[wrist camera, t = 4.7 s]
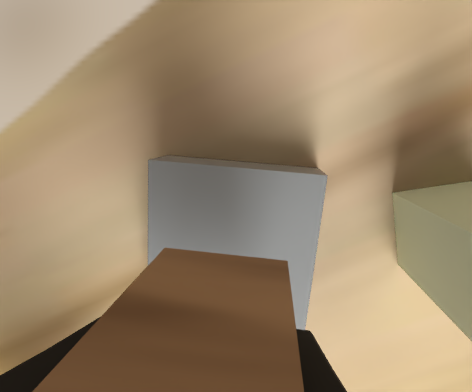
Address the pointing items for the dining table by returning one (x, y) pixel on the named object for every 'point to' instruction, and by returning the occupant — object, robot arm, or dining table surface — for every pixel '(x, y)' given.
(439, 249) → the sage block
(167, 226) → the gray slab
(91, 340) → the walnut block
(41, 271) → the dining table surface
